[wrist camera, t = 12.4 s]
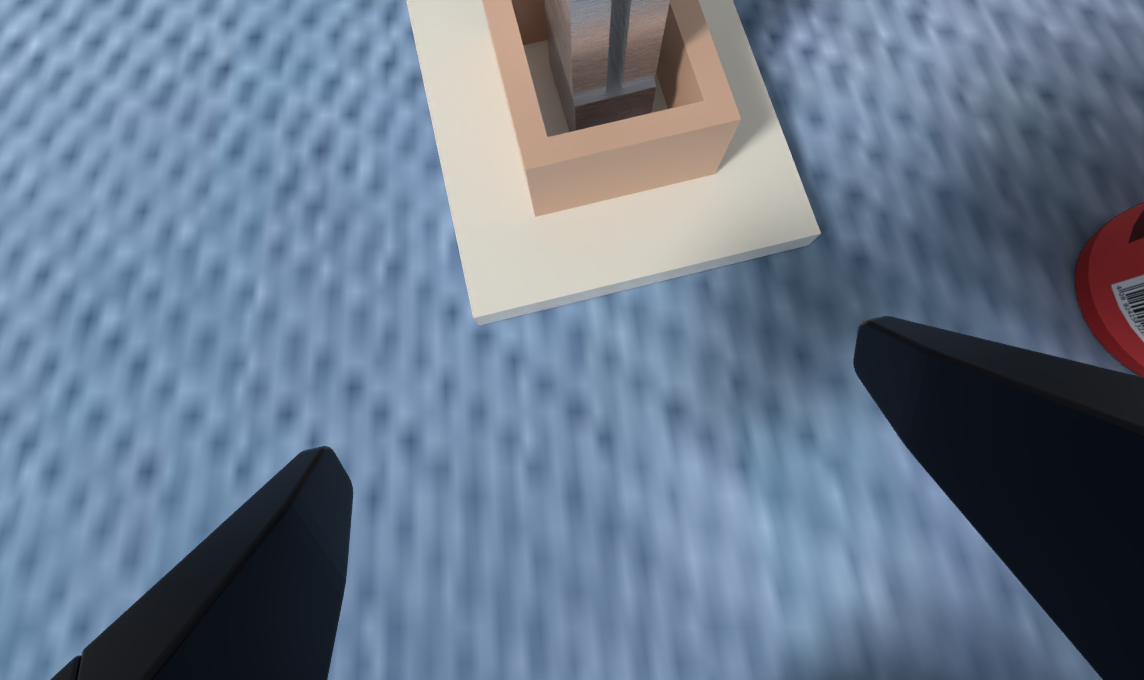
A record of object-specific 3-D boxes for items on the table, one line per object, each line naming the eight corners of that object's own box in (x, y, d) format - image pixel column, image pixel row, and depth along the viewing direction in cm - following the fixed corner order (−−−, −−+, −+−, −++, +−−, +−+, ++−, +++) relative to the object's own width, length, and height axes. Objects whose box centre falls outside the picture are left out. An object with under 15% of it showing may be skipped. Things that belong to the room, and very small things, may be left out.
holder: (807, 245, 21) (870, 188, 16) (479, 325, 21) (449, 290, 16) (696, -56, 24) (722, -173, 20) (412, 8, 24) (371, -97, 19)
